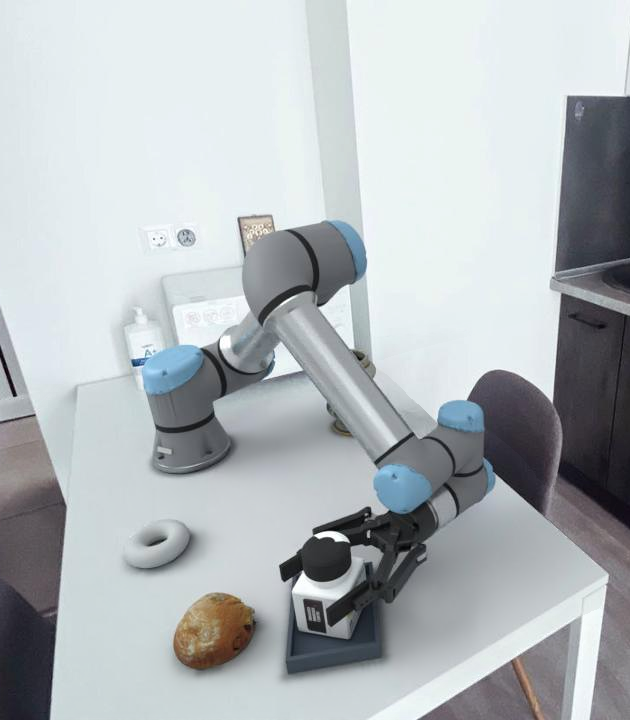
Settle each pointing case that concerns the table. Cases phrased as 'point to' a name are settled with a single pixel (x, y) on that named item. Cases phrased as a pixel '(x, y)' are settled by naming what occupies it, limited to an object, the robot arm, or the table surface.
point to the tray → (333, 640)
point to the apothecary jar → (371, 370)
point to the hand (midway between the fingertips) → (303, 595)
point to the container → (326, 584)
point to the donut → (158, 554)
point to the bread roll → (213, 631)
